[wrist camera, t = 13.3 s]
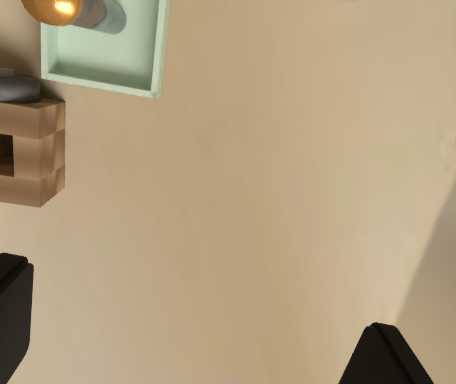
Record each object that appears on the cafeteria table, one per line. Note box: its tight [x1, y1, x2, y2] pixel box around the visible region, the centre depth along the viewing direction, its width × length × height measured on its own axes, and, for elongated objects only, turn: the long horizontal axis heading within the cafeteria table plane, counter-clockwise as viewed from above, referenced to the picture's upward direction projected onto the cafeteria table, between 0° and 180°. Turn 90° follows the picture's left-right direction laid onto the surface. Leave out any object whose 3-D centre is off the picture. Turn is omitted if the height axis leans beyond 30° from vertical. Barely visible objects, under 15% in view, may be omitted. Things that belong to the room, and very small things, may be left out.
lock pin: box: [21, 0, 126, 35], centre depth 28 cm, size 4×4×14 cm
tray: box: [41, 0, 171, 98], centre depth 33 cm, size 13×11×3 cm
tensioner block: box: [0, 68, 65, 207], centre depth 36 cm, size 13×9×6 cm
